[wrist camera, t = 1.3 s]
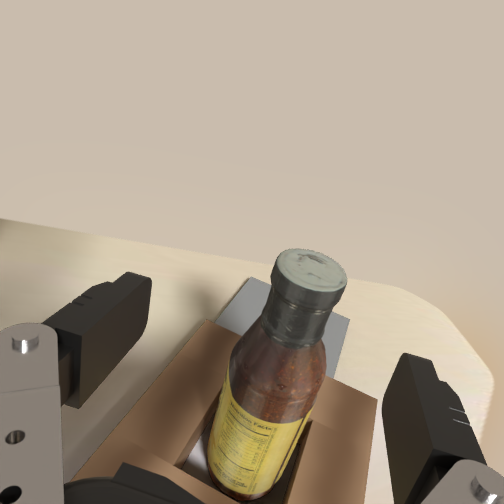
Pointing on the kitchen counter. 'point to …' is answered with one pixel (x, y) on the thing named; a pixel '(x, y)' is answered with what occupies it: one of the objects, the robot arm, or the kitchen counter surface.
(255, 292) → the grey mat
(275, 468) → the sauce bottle
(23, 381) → the robot arm
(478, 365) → the kitchen counter surface
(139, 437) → the seat block
